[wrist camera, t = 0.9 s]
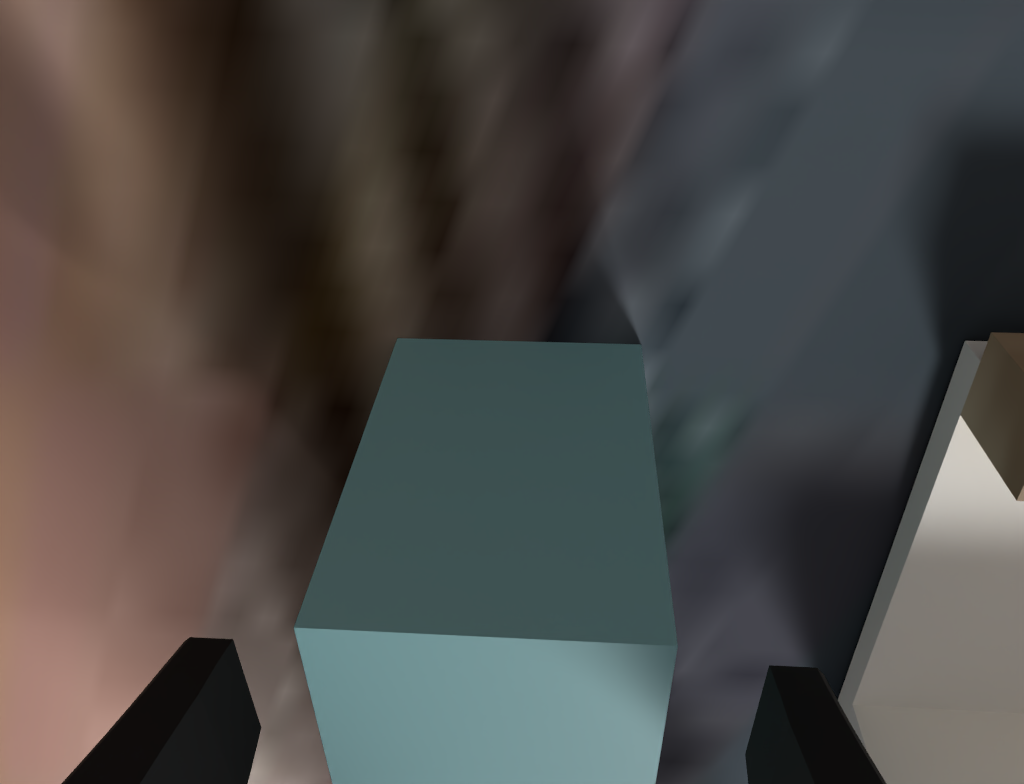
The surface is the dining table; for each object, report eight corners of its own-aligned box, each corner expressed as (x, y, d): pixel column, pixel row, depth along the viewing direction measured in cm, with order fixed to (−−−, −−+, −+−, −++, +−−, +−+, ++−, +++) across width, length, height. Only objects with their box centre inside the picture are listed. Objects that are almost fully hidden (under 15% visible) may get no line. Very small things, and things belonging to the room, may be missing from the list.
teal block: (617, 594, 17) (634, 915, 12) (423, 586, 17) (360, 896, 12) (641, 342, 13) (677, 646, 8) (398, 337, 14) (294, 627, 9)
